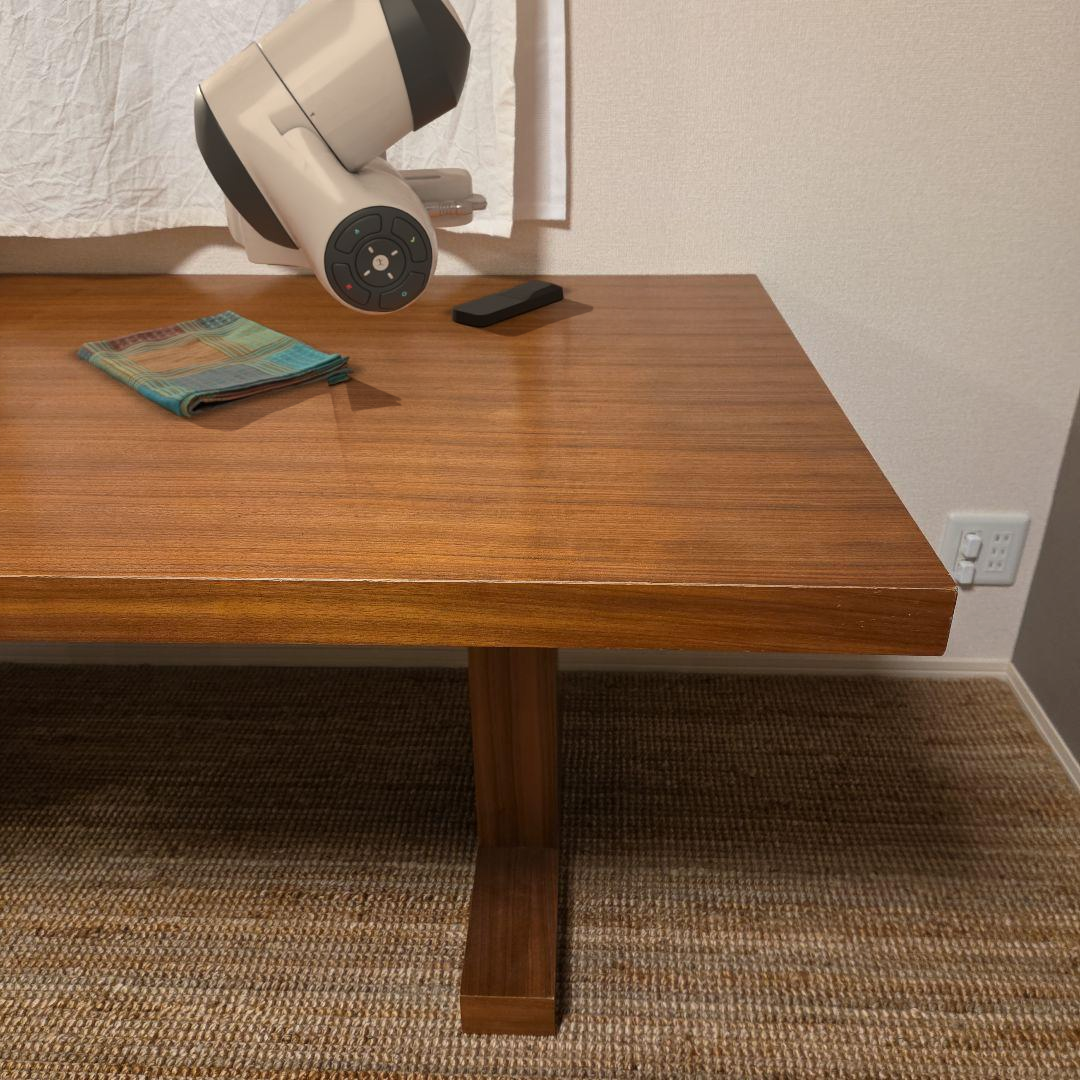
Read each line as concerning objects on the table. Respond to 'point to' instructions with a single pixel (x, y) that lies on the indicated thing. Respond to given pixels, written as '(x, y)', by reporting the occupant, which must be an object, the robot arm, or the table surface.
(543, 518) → the table surface
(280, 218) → the robot arm
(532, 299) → the remote control
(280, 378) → the dish towel
